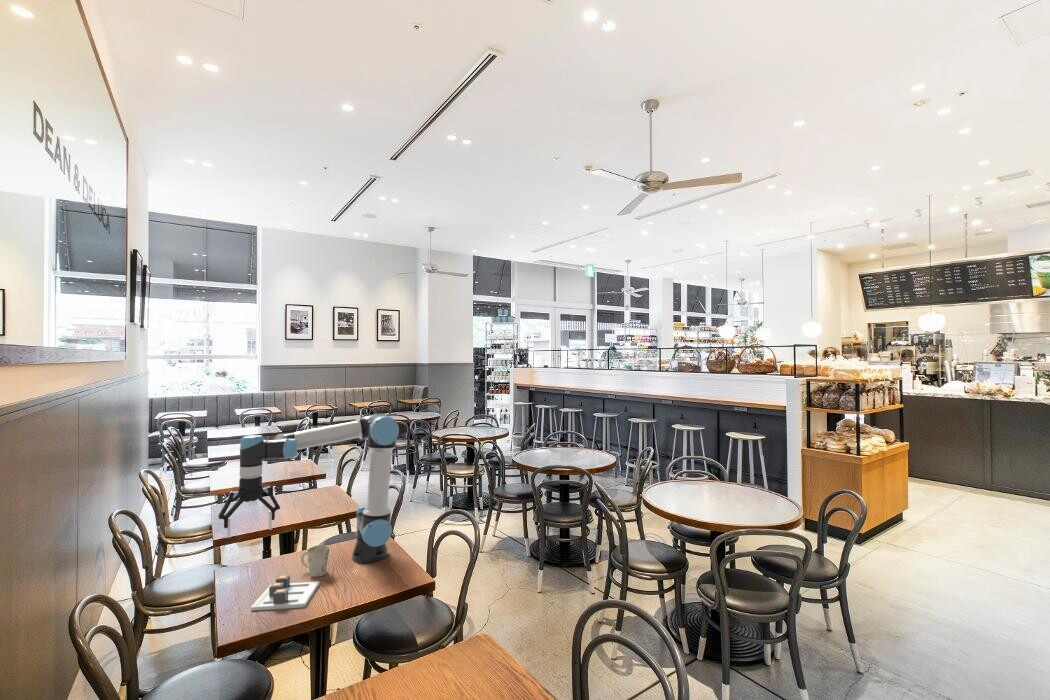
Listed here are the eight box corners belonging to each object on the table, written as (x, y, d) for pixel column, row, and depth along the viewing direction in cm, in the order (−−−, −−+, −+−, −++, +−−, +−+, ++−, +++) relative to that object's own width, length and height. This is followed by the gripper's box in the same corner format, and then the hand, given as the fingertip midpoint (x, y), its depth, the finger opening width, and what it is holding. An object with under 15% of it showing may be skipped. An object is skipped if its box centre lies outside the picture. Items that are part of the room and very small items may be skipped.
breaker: (288, 598, 169) (288, 588, 169) (285, 602, 166) (285, 592, 166) (276, 599, 168) (276, 589, 168) (273, 603, 165) (273, 593, 165)
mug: (320, 578, 187) (321, 553, 188) (293, 576, 190) (293, 551, 190) (333, 569, 195) (333, 545, 196) (306, 567, 198) (307, 543, 198)
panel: (319, 584, 182) (319, 572, 183) (304, 607, 166) (304, 593, 166) (270, 587, 180) (270, 574, 180) (250, 610, 163) (251, 596, 163)
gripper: (285, 470, 188) (284, 523, 187) (211, 479, 173) (209, 536, 172) (288, 473, 182) (287, 528, 181) (212, 483, 167) (210, 542, 166)
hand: (249, 532), depth 177 cm, fingers open, 13 cm apart
